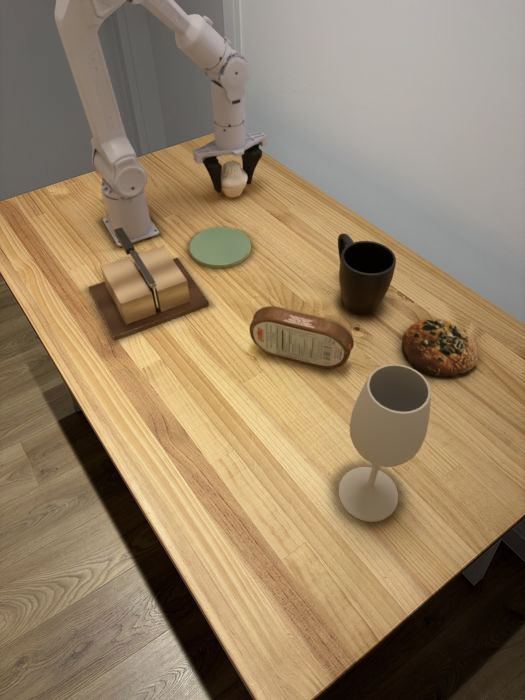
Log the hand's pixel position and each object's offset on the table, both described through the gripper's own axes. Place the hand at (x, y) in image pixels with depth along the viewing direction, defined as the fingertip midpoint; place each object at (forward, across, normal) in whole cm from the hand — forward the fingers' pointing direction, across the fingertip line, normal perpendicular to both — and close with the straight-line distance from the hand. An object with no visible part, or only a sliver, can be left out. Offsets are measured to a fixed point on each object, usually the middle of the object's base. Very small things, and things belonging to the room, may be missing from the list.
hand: (232, 186), depth 110 cm
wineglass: (+2, -15, -67) cm, 69 cm away
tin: (+2, -11, -44) cm, 45 cm away
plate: (+2, -10, -15) cm, 18 cm away
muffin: (+2, 0, 0) cm, 2 cm away
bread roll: (+2, +8, -53) cm, 54 cm away
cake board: (+2, -26, -21) cm, 33 cm away
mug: (+2, +4, -37) cm, 37 cm away
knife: (0, -26, -18) cm, 31 cm away
